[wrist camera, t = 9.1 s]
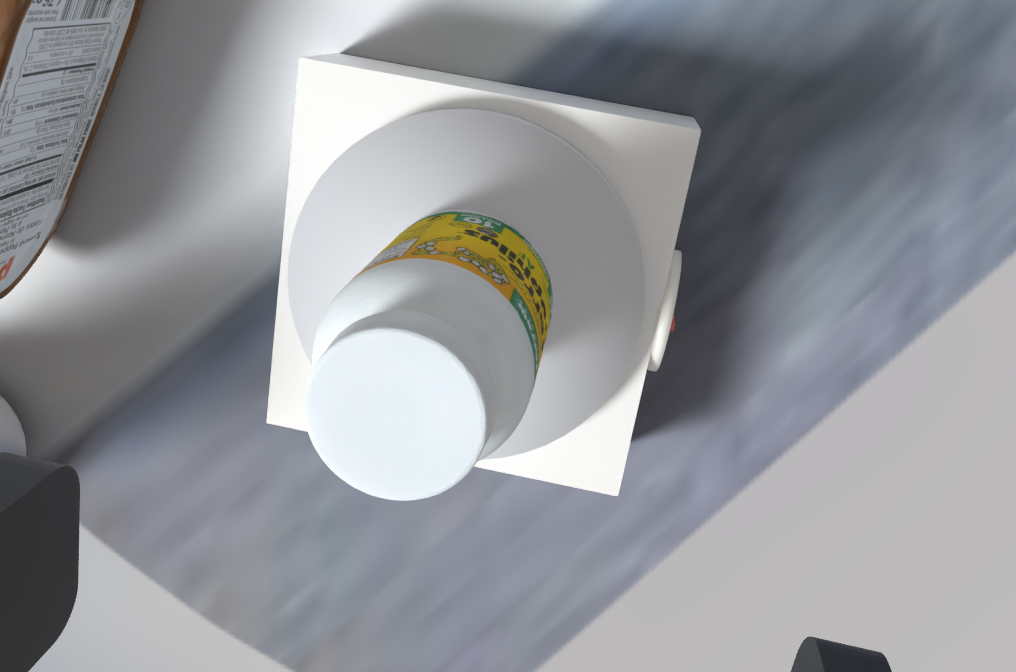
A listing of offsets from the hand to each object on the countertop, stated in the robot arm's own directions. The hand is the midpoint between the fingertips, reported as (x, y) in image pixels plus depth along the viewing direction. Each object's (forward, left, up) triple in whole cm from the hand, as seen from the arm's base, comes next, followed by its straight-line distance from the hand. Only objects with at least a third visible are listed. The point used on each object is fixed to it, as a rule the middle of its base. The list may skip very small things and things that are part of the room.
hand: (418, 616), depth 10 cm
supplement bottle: (+2, -2, -19) cm, 19 cm away
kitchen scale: (+2, -3, -24) cm, 24 cm away
